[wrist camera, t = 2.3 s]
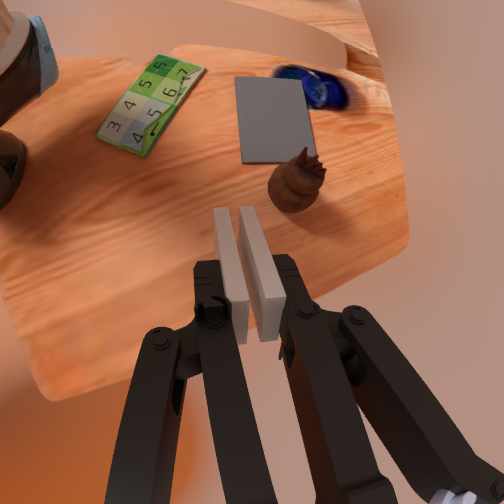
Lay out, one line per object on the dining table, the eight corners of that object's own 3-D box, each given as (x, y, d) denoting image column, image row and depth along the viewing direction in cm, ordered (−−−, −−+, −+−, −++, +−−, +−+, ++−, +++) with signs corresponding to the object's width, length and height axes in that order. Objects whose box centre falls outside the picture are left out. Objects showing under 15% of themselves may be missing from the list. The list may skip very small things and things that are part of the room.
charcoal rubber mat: (316, 163, 46) (317, 162, 46) (241, 163, 44) (242, 162, 44) (300, 82, 48) (300, 80, 48) (234, 78, 46) (234, 76, 46)
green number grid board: (205, 71, 46) (159, 56, 45) (206, 66, 45) (158, 51, 44) (145, 159, 43) (96, 139, 42) (144, 156, 41) (93, 135, 40)
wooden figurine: (255, 191, 44) (281, 146, 29) (282, 169, 45) (316, 120, 31) (286, 225, 44) (326, 195, 30) (312, 201, 45) (358, 165, 31)
